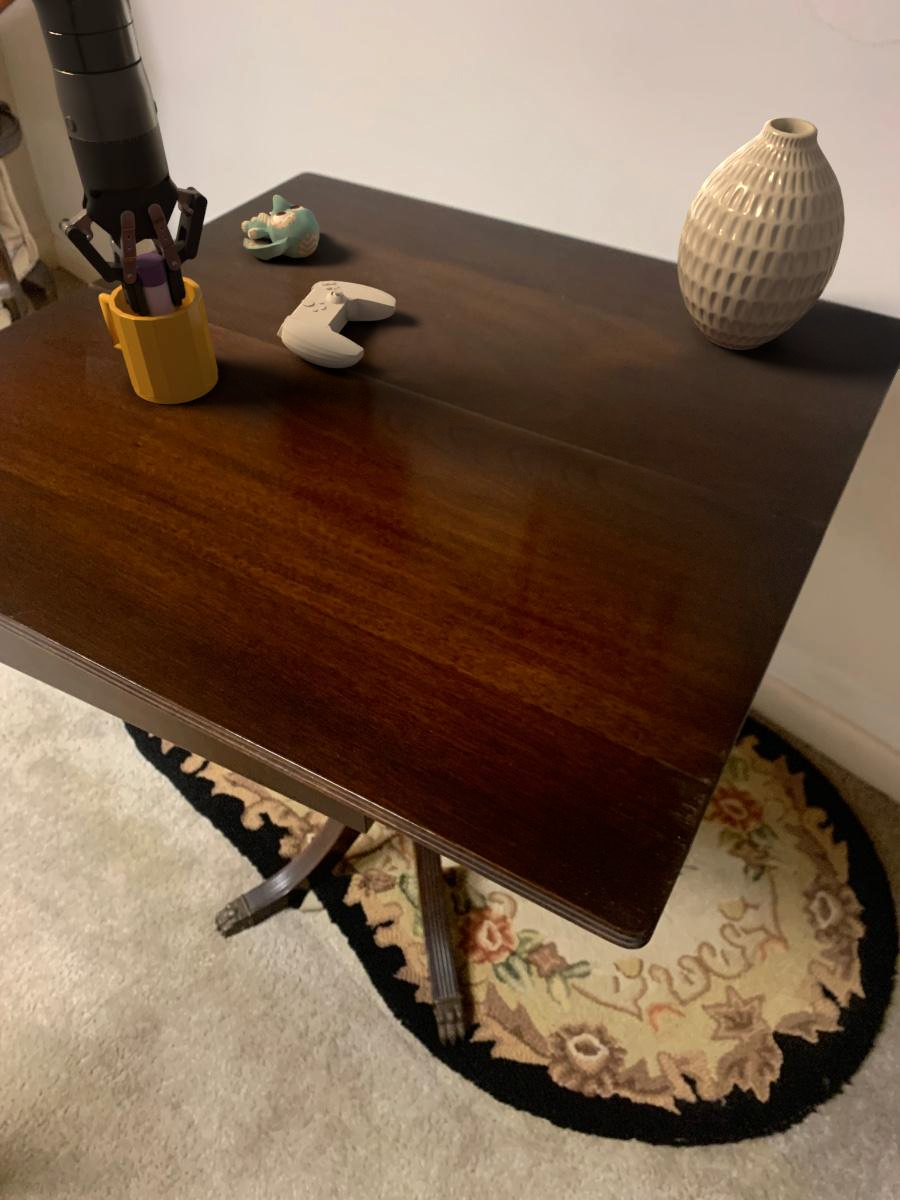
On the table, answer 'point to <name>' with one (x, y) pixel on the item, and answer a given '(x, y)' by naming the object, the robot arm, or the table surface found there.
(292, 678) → the table surface
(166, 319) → the mug
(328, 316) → the game controller
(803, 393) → the table surface
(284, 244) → the green dragon head figurine
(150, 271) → the glue stick
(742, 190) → the vase
